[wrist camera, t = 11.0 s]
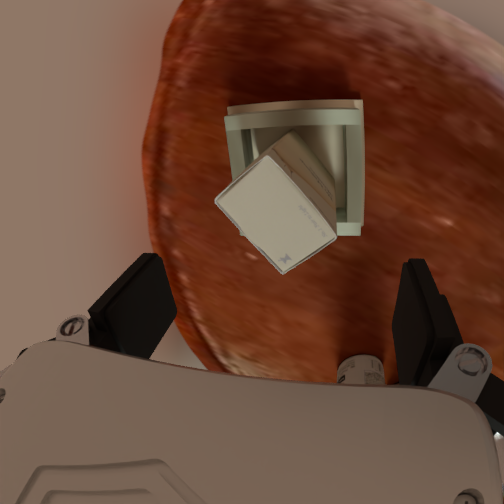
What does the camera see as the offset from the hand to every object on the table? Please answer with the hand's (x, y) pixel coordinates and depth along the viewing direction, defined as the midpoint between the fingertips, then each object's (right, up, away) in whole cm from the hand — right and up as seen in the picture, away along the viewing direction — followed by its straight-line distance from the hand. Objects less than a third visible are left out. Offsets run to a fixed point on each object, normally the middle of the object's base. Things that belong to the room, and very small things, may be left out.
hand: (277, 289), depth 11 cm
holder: (+4, +10, +16) cm, 19 cm away
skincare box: (+3, +9, +16) cm, 19 cm away
